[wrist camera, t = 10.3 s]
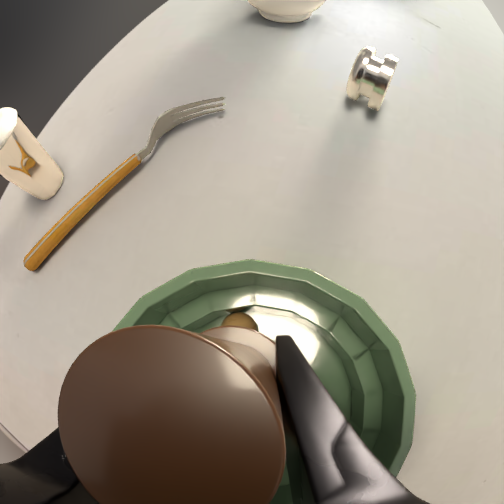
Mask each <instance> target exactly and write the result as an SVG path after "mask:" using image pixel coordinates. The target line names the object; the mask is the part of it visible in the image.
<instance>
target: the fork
mask: <svg viewBox="0 0 504 504" xmlns="http://www.w3.org/2000/svg"><path fill="white" fill-rule="evenodd" d="M223 99H225V98H224V97H220V98H214V99H208V100H203V101H198V102H194V103H190V104H186V105H183V106H179V107H175V108H172V109H169V110H167V111H165V112H164V113H163V114H162V115H160V116H159V117H158V118H157V119H156V121H155V123H154V125H153V127H152V129H151V133H150V136H149V139H148V143H147V146H146V147H145V148H143V149H142V150H141V151H139V152H138V153H137V154H133V155H132V156H131V157H130V158H128V159H127V160H126V161H125V162H123V163H122V164H121V165H120V166H118V167H117V168H116V169H115V170H114V171H112V172H111V173H110V174H109V175H108V176H107V177H105V178H104V179H103V180H102V181H101V182H100V183H98V184H97V185H96V186H95V187H94V188H93V189H92V190H91V191H90V192H88V193H87V194H86V195H85V196H84V197H83V198H82V199H81V200H80V201H79V202H78V203H77V204H75V205H74V206H73V207H72V208H71V209H70V210H69V211H68V212H67V213H66V214H65V215H64V216H63V217H62V218H61V219H60V220H59V221H58V222H57V223H56V224H55V225H54V226H53V227H52V228H51V229H50V230H49V231H48V232H47V233H46V234H45V235H44V236H43V238H42V239H41V240H40V241H39V242H38V243H37V244H36V245H35V246H34V247H33V248H32V249H31V251H30V252H29V253H28V254H27V255H26V256H25V258H24V266H25V267H26V268H27V269H28V270H30V271H34V270H36V269H37V268H38V267H39V265H40V264H41V263H42V262H43V261H44V259H45V258H46V257H47V256H48V255H49V254H50V253H51V251H52V250H53V249H54V248H55V247H56V246H57V245H58V243H59V242H60V241H61V240H62V239H63V238H64V237H65V236H66V235H67V234H68V232H69V231H70V230H71V229H72V228H73V227H74V226H75V225H76V224H77V223H78V222H79V221H80V220H81V219H82V218H83V217H84V216H85V215H86V214H87V213H88V212H89V211H90V210H91V209H92V208H93V207H94V206H95V205H96V204H97V203H98V202H99V201H100V200H101V199H102V198H103V197H104V196H105V195H106V194H107V193H108V192H109V191H110V190H111V189H112V188H113V187H114V186H116V185H117V184H118V183H119V182H120V181H121V180H122V179H123V178H124V177H125V176H126V175H128V174H129V173H130V172H131V171H132V170H133V169H134V168H135V167H137V166H138V165H139V164H140V163H141V161H142V160H143V159H144V158H145V157H146V156H147V155H149V154H150V153H151V151H152V149H153V147H154V145H155V143H156V141H157V140H158V139H159V138H160V137H162V136H163V135H164V134H165V133H167V132H168V131H170V130H171V129H172V128H174V127H175V126H177V125H179V124H181V123H183V122H186V121H188V120H190V119H193V118H196V117H199V116H202V115H205V114H209V113H214V112H219V111H223V110H225V109H216V110H210V111H204V112H200V113H196V112H199V111H202V110H206V109H210V108H215V107H220V106H223V105H225V104H224V103H218V104H212V105H206V106H201V107H197V108H193V109H189V108H192V107H196V106H199V105H203V104H206V103H211V102H216V101H220V100H223ZM186 109H189V110H186ZM183 110H186V111H183ZM180 111H182V112H180ZM178 112H179V113H178ZM193 113H196V114H193ZM190 114H193V115H190ZM187 115H189V116H187ZM185 116H186V117H185ZM182 117H183V118H182ZM179 118H180V119H179Z"/></svg>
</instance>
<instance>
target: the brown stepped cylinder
mask: <svg viewBox="0 0 504 504" xmlns="http://www.w3.org/2000/svg"><path fill="white" fill-rule="evenodd" d="M58 426H59V432H60V438H61V442H62V445H63V449H64V452H65V454H66V457H67V459H68V462H69V464H70V466H71V468H72V469H73V471H74V473H75V475H76V476H77V478H78V479H79V481H80V482H81V484H82V485H83V487H84V488H85V489H86V490H87V491H88V493H89V494H90V495H91V496H92V497H93V498H94V499H95V500H96V501H97V502H98V503H99V504H269V503H270V502H271V500H272V499H273V497H274V496H275V494H276V492H277V490H278V488H279V485H280V483H281V481H282V477H283V473H284V469H285V460H286V445H285V434H284V427H283V420H282V413H281V406H280V399H279V392H278V387H277V382H276V360H275V342H274V341H272V340H271V339H270V338H269V337H267V336H266V335H264V334H262V333H260V332H258V331H256V330H254V329H250V328H247V327H242V326H233V325H227V326H218V327H214V328H211V329H208V330H205V331H203V332H201V333H195V332H191V331H188V330H184V329H179V328H175V327H170V326H163V325H136V326H131V327H125V328H122V329H119V330H116V331H113V332H110V333H108V334H106V335H104V336H102V337H101V338H99V339H97V340H96V341H95V342H93V343H92V344H90V345H89V346H88V347H87V348H86V349H85V350H84V351H83V352H82V353H81V354H80V355H79V356H78V357H77V359H76V360H75V361H74V363H73V364H72V365H71V367H70V369H69V371H68V373H67V375H66V377H65V379H64V382H63V385H62V388H61V392H60V397H59V404H58Z"/></svg>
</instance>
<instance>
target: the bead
mask: <svg viewBox="0 0 504 504" xmlns="http://www.w3.org/2000/svg"><path fill="white" fill-rule="evenodd" d="M227 325H233V326H242V327H247V328H250V329H254V330H256V331H258V328H257V324H256V322H255V320H254V319H253V318H252V317H251V316H250V315H248V314H246V313H242V312H236V313H232V314H230V315H228V316H227V317H226V318H225V319H224V320H223V322H222V324H221V326H227Z"/></svg>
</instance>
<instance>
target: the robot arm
mask: <svg viewBox="0 0 504 504" xmlns="http://www.w3.org/2000/svg"><path fill="white" fill-rule="evenodd" d="M275 360H276V382H277V387H278V392H279V399H280V406H281V413H282V420H283V427H284V434H285V445H286V464H287V470H288V476H289V482H290V488H291V494H292V500H293V504H430V503H428V502H425V501H423V500H421V499H420V498H418V497H416V496H415V495H414V494H412V493H411V492H410V491H409V490H408V489H407V488H405V487H404V486H403V485H402V484H401V482H400V481H399V480H398V479H397V478H396V477H395V476H394V475H393V474H392V473H391V472H390V471H389V470H388V469H387V468H386V467H385V466H384V465H383V464H382V463H381V462H380V461H379V459H378V458H377V457H376V456H375V455H374V454H373V453H372V452H371V450H370V449H369V448H368V447H367V446H366V445H365V443H364V442H363V441H362V439H361V438H360V437H359V435H358V434H357V433H356V431H355V430H354V428H353V427H352V425H351V424H350V423H349V422H348V421H347V418H346V417H345V415H344V414H343V413H342V411H341V410H340V408H339V407H338V405H337V404H336V402H335V401H334V399H333V398H332V396H331V395H330V394H329V392H328V391H327V389H326V388H325V386H324V385H323V383H322V382H321V380H320V379H319V377H318V376H317V374H316V373H315V371H314V370H313V368H312V367H311V365H310V364H309V363H308V361H307V360H306V358H305V357H304V355H303V354H302V352H301V351H300V349H299V348H298V346H297V345H296V343H295V342H294V340H293V339H292V337H291V336H290V335H278V336H276V340H275ZM0 504H99V503H98V502H97V501H96V500H95V499H94V498H93V497H92V496H91V495H90V494H89V493H88V491H87V490H86V489H85V488H84V487H83V485H82V484H81V482H80V481H79V479H78V478H77V476H76V475H75V473H74V471H73V469H72V468H71V466H70V464H69V462H68V459H67V457H66V454H65V452H64V449H63V445H62V442H61V438H60V432H59V427H58V428H57V429H56V430H54V431H53V432H52V433H51V434H50V435H49V436H47V437H46V438H45V439H43V440H42V441H41V442H40V443H38V444H37V445H36V446H35V447H33V448H32V449H31V450H30V451H28V452H27V453H26V454H25V455H23V456H22V457H20V458H19V459H17V460H14V461H12V462H9V463H3V464H0Z"/></svg>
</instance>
